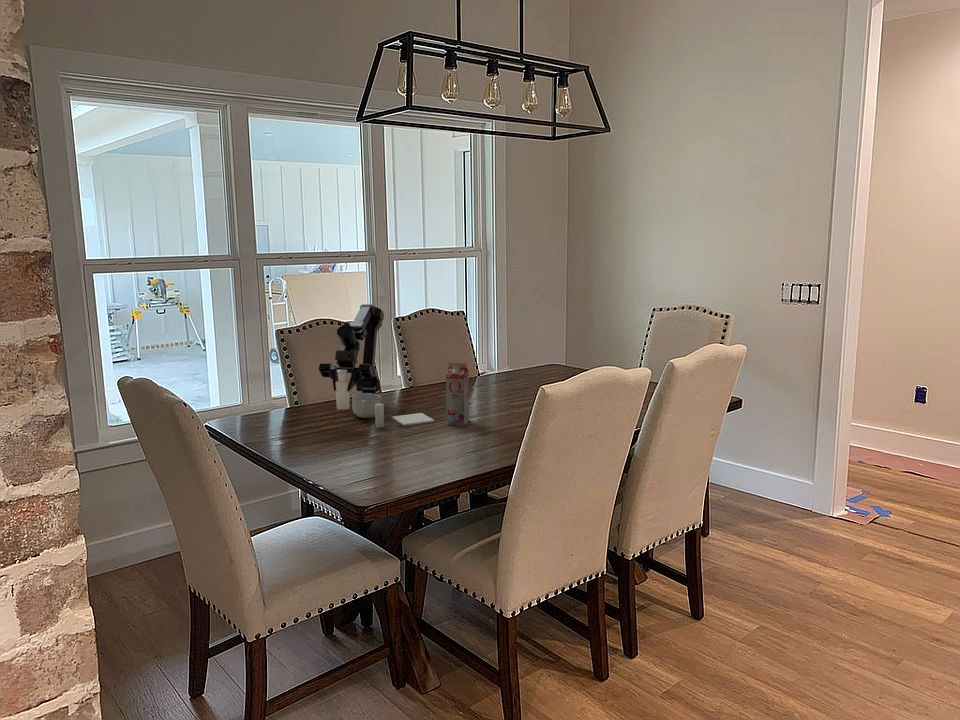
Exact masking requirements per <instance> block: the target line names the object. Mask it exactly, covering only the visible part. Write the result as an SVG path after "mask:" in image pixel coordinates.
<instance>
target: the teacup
mask: <svg viewBox="0 0 960 720" xmlns="http://www.w3.org/2000/svg"><path fill="white" fill-rule="evenodd" d="M351 396H352V397H351V398H352V399H351V401H352V404H351V405H352V412H353V413H354V414H355V416H356V417H358V418H361V419H364V418H366V419H368V418H369V419H370V418H375V404H382V395H381V394H377V393H376V394H371V393H362V392H361V393H354V394H352V395H351Z"/></svg>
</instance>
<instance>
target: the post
mask: <svg viewBox="0 0 960 720" xmlns="http://www.w3.org/2000/svg"><path fill="white" fill-rule="evenodd" d="M384 407H385V405H384V403H381V404H375V417H374V418H375V419H374V420H375V428H376V429H377V428H379V429H381V428H384V427H385V416H384V415H385V414H384V413H385V412H384Z"/></svg>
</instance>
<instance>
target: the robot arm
mask: <svg viewBox="0 0 960 720" xmlns="http://www.w3.org/2000/svg"><path fill="white" fill-rule="evenodd" d="M384 318H385V313H384V311H383V310H382V308H380V307H378V306H377V307H376V306H375V305H374V304H366V303H363V304H360V305H359V311H357V314H356V315H355V318H354V319H353V320H352V321H350V322H344V323H343V325H341V326H339V327H338V328H337V330H336V335H337V337H338V340H339V342H340V345H342V346H343V347H342V350H341V349H340V350H339V349H338V350H335V354H334V355H335V357H334V360H336V365H337V366H336V365H332V363H331V362H320V363H319V365H318V371H319V373H320V375H321V377H322V378H330V379H331V380H332V387H333V391H334V392H336V381H338V373H337V370H339V369H346V370H347V372H346V374H350V378H349V380H348V381H349V385H348V391H349V392H350V391H351V390H352V389H353V388H354V387H355V386H356V391H357V392H361V393H371V394H377V393H378V392H381V391H382V386H381V385H382V384H381V381H380V379H379V376H378V372H377V370H376V368H375V361H376V360H375V359H376V350H377V349H376V348H377V338H378V331H379V330H380V329H381V328H382V326H383V325H382V324H383V321H384ZM359 341H364V345H363V356H362V363H359V364H358V356H359V352H360V351H361V344H360V342H359ZM357 364H358V367H356V366H357Z"/></svg>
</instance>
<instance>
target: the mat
mask: <svg viewBox="0 0 960 720" xmlns="http://www.w3.org/2000/svg"><path fill="white" fill-rule="evenodd" d="M391 419H392V420H394V421H396V422H397V423H399V424H400V425H402V426H412V425H413V426H414V425H418V424H419V425H421V424H427V423H435V419H433V418H431V417H430V416H428V415H426V414H424V413H423V412H421V413H412V414H410V413H409V414H404V415H403V414H402V415H393V416H391Z"/></svg>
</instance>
